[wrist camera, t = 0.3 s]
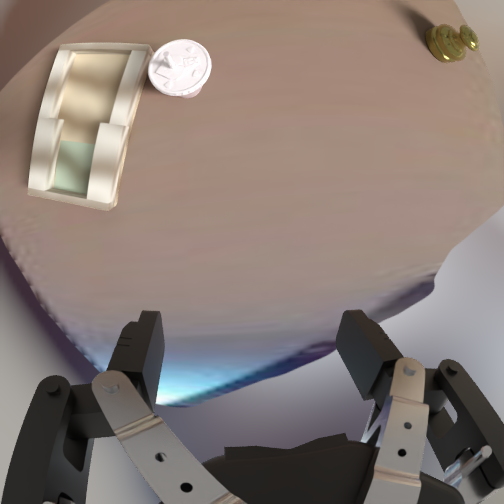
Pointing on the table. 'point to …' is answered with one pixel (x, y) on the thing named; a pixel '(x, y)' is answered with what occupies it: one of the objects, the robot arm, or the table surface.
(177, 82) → the smoothie
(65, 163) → the cream rectangular tray
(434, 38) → the olive green stacked toy
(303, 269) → the table surface
